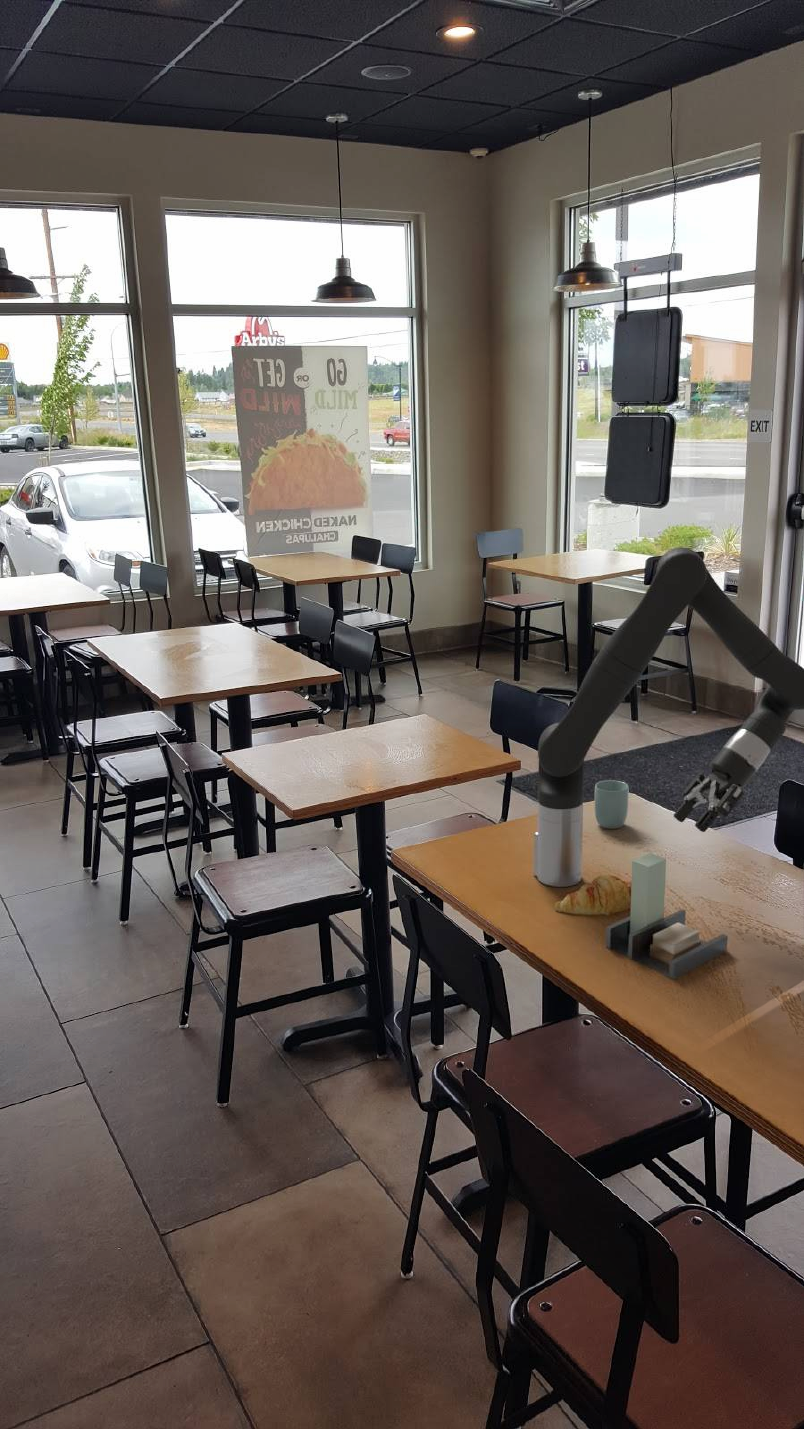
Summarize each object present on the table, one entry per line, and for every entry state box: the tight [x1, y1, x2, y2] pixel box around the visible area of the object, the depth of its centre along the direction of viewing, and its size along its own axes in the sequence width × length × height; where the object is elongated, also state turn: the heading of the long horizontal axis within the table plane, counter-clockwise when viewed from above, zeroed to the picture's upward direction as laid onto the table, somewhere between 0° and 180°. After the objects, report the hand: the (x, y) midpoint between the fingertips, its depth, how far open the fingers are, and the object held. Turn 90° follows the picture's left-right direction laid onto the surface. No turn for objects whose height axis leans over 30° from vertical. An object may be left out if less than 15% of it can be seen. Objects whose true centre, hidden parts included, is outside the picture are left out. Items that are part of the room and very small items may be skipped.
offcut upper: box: [653, 923, 700, 954], centre depth 193 cm, size 5×7×2 cm, turn 128°
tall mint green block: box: [629, 852, 667, 934], centre depth 196 cm, size 4×5×16 cm
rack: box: [605, 909, 728, 980], centre depth 195 cm, size 15×15×6 cm
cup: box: [594, 779, 630, 830], centre depth 253 cm, size 8×8×10 cm
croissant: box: [554, 874, 632, 916], centre depth 213 cm, size 21×10×8 cm, turn 106°
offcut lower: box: [650, 939, 701, 964], centre depth 193 cm, size 5×8×2 cm, turn 128°
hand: (687, 824), depth 205 cm, fingers open, 8 cm apart
